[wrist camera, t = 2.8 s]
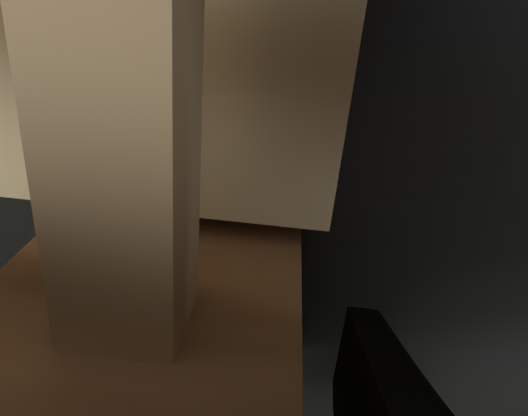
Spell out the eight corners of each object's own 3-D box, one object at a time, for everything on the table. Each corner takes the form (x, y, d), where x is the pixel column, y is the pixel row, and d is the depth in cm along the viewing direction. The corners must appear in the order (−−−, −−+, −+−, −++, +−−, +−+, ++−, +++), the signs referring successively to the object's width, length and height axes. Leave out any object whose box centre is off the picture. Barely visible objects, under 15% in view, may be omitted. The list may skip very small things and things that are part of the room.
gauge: (275, 400, 13) (254, 803, 7) (103, 380, 13) (-86, 757, 7) (342, -101, 8) (543, -516, 1) (54, -126, 8) (-977, -611, 2)
